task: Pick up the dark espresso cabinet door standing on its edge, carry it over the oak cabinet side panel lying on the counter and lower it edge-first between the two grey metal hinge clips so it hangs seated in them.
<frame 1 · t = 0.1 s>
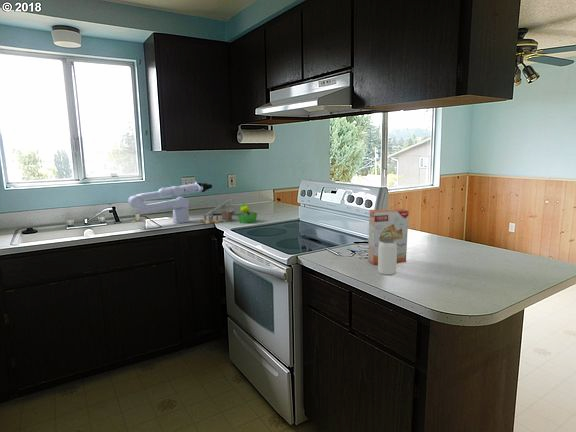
hand: (209, 185, 251), 22 cm above the worktop, tool horizontal, fingers open, 7 cm apart
fruit basket: (247, 222, 239), on the worktop
can: (387, 273, 139), on the worktop
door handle: (222, 214, 271), on the worktop
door: (226, 220, 246), on the worktop
hinge rail: (211, 221, 242), on the worktop
cracker box: (387, 262, 152), on the worktop
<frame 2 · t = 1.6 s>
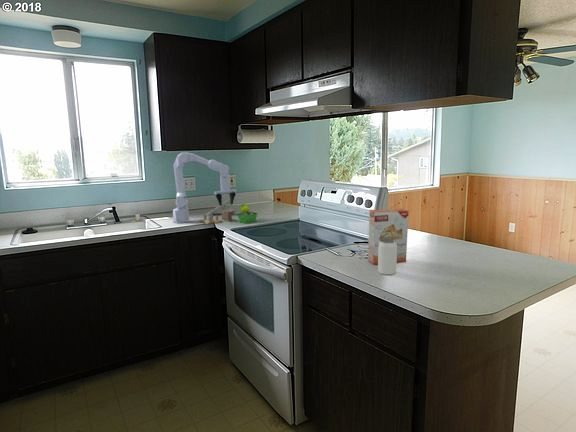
hand: (226, 204, 244), 10 cm above the worktop, tool pointing down, fingers open, 7 cm apart
nothing on the worktop moved.
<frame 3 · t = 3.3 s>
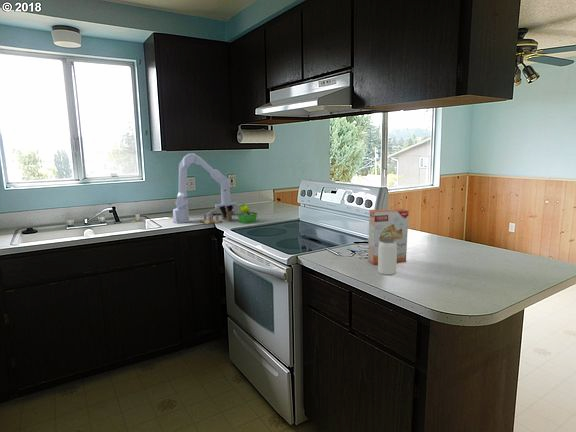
hand: (226, 217, 245), 2 cm above the worktop, tool pointing down, fingers closed on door, 2 cm apart
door: (226, 220, 246), on the worktop, touching gripper
everything else where it was.
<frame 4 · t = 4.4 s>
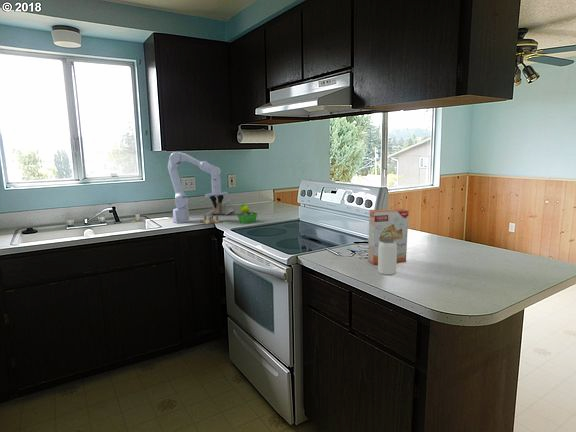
hand: (217, 207, 242), 9 cm above the worktop, tool pointing down, fingers closed on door, 2 cm apart
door: (217, 212, 242), point 6 cm above the worktop, touching gripper
everything else where it was.
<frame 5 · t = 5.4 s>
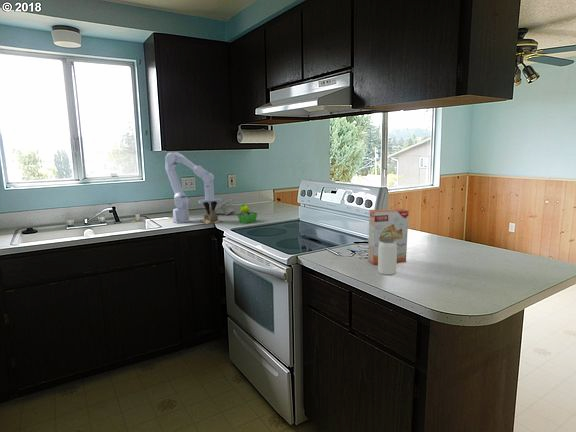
hand: (210, 213, 241), 5 cm above the worktop, tool pointing down, fingers closed on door, 2 cm apart
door: (211, 219, 242), point 1 cm above the worktop, touching gripper
everything else where it was.
when the fingers open (4 cm above the worktop, at t = 5.8 s): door stays where it is, resting on hinge rail.
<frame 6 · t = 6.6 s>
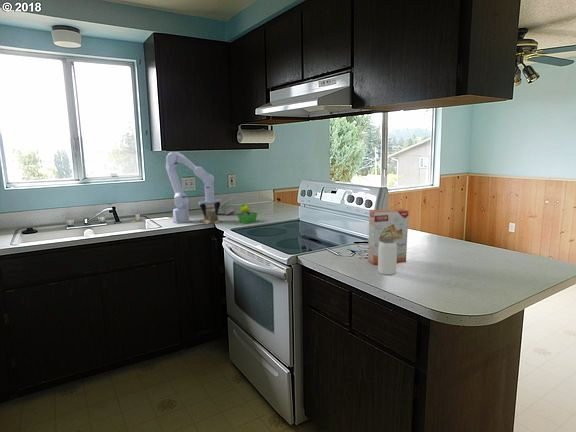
hand: (210, 215, 241), 4 cm above the worktop, tool pointing down, fingers open, 7 cm apart
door: (211, 220, 242), point 1 cm above the worktop, touching hinge rail
everything else where it was.
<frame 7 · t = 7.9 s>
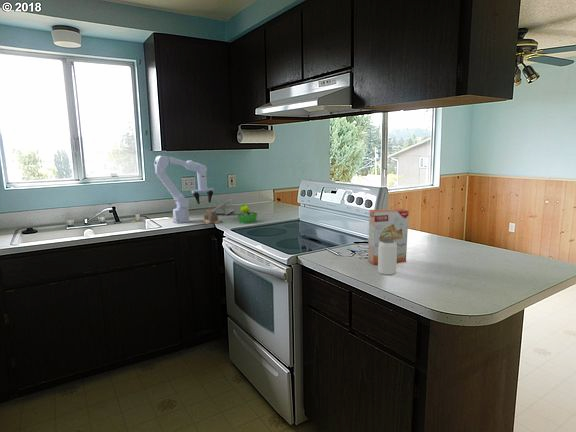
hand: (204, 203, 250), 10 cm above the worktop, tool pointing down, fingers open, 7 cm apart
nothing on the worktop moved.
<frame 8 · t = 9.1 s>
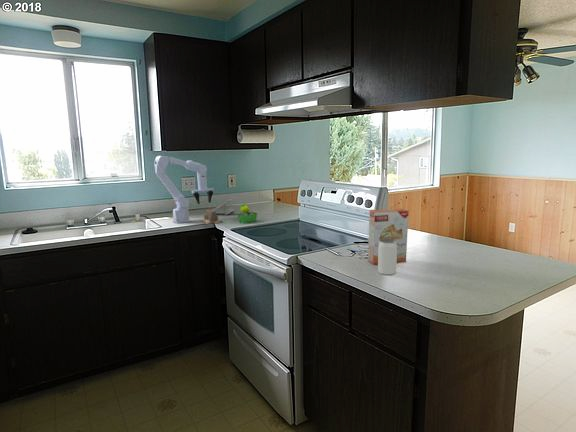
hand: (204, 203, 250), 10 cm above the worktop, tool pointing down, fingers open, 7 cm apart
nothing on the worktop moved.
at the end: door 0.1 cm off-centre on the hinge rail, point 1.0 cm above the hinge rail's base; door tilted 0°; the gripper is holding nothing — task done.
